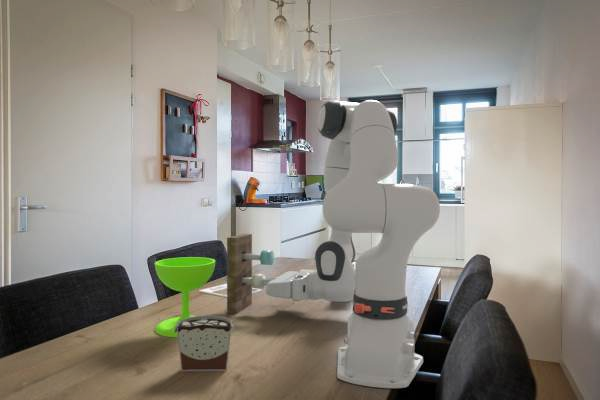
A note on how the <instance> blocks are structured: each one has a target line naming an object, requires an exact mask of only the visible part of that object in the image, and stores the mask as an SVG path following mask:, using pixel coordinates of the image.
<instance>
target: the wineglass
mask: <svg viewBox="0 0 600 400" xmlns="http://www.w3.org/2000/svg"><path fill="white" fill-rule="evenodd" d="M215 266H216V259H214V258H209V257H202V256H201V257H199V256H195V257H194V256H188V257H187V256H186V257H184V256H183V257H173V258H171V257H170V258H163V259H161V260H157V261H154V268H155V272H156V275H157V277H158V279H159V280H160V281H161V282H162V283H163V285H165V286H166V287H167V288H169V289H171V290H173V291H176V292H181V315H180V316H176V317H170V318H167V319H165V320H163V321H160V322H159V323H158V324H157V325H155V329H154V332H155V333H156V334H158V335H160V336H163V337H166V338H167V337H169V338H178V336H177V332H175V333H174V330H175V326H176V324H177V322H179V321H180V320H183V319H186V318H189V317H194V316H195V315H191V314H190V292H192V291H194V290H197V289H199V288H201V287H202V286H204V285H205V284H206V283H207V282H208V281H209V280H210V279H211V277H212V276H213V273H214V271H215Z"/></svg>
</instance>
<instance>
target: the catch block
mask: <svg viewBox="0 0 600 400" xmlns="http://www.w3.org/2000/svg"><path fill="white" fill-rule="evenodd" d="M242 254H253V234H252V233H242V234H237V235H232V236H228V237H227V238H226V276H227V282H226V284H227V289H226V295H227V297H226V299H227V300H226V313H227V314H233V315H236V314H238V313H240V312H241V311H243V310H244V309H246V308H248V307H249V306H250V305H252V304H253V297H252V296H253V294H252V292H253V290H252V288H253V287H252V284H249V283H242V277H246V278H252V276H253V266H252V265H253V262H252V261H253V260H245V259H242Z"/></svg>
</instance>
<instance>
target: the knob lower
mask: <svg viewBox="0 0 600 400" xmlns="http://www.w3.org/2000/svg"><path fill="white" fill-rule="evenodd" d="M265 278H266V275H265V274H262V273H252V278H246V277H242V283H249V284H252V288H255V289H261V290H263V289H264V288H266V285H262V280H263V279H265ZM224 282H225V283H227V275H226V276H225V277H224Z"/></svg>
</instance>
